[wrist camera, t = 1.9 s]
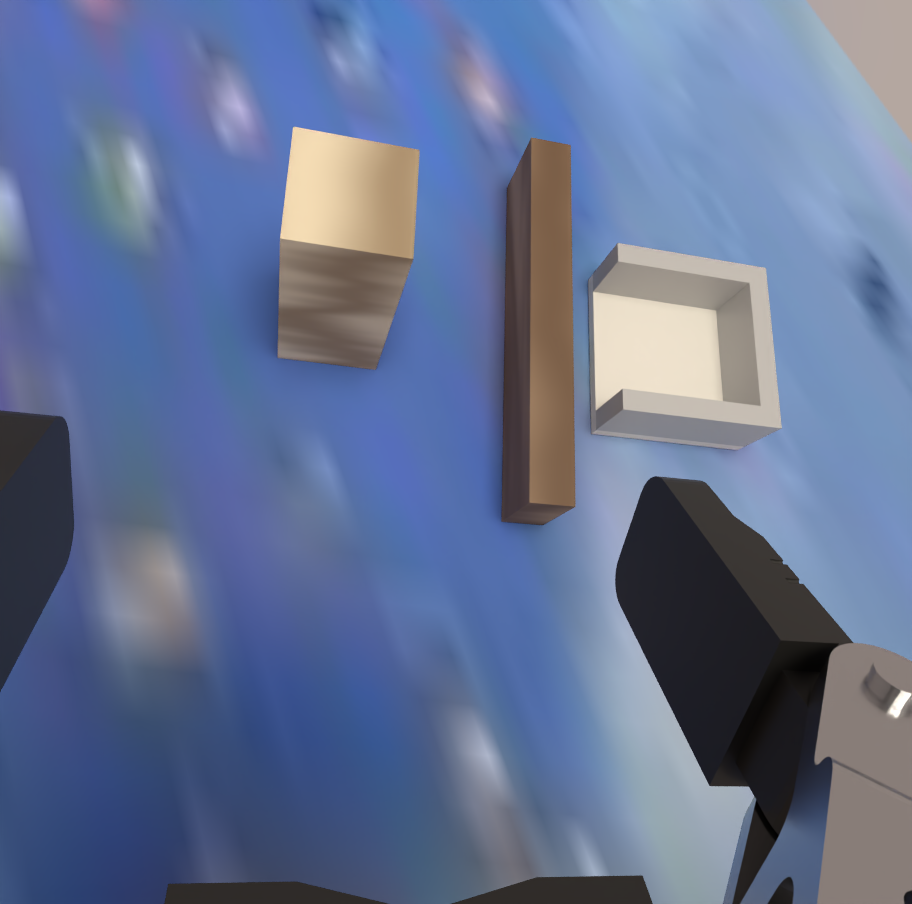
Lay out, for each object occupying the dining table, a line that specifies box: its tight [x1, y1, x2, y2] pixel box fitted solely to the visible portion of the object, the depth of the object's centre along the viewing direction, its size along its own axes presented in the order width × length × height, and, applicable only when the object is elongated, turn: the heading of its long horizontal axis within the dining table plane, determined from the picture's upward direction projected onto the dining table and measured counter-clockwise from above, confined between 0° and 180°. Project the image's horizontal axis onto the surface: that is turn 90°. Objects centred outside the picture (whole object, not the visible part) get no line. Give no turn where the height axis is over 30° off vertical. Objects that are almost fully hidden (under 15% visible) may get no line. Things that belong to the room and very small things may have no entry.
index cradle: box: [588, 243, 782, 450], centre depth 37 cm, size 8×8×4 cm
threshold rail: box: [502, 138, 575, 525], centre depth 36 cm, size 2×18×4 cm, turn 178°
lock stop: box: [278, 127, 419, 370], centre depth 31 cm, size 4×4×10 cm
